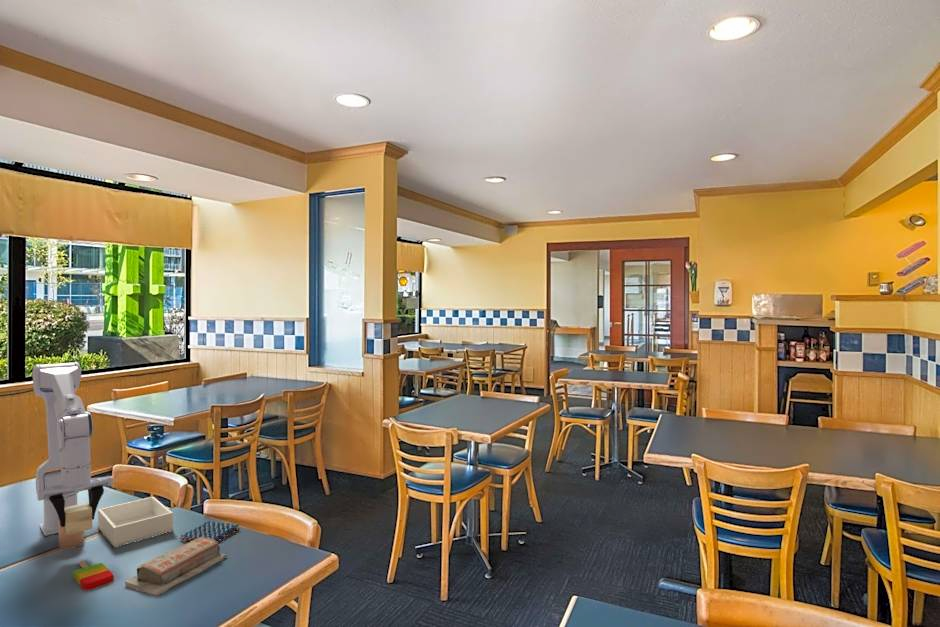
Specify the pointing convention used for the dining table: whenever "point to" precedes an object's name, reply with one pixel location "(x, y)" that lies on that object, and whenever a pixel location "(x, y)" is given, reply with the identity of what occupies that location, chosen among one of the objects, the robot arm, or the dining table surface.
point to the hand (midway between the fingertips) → (77, 522)
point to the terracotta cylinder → (70, 539)
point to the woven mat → (210, 531)
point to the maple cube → (77, 518)
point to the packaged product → (176, 566)
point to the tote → (134, 520)
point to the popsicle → (93, 575)
